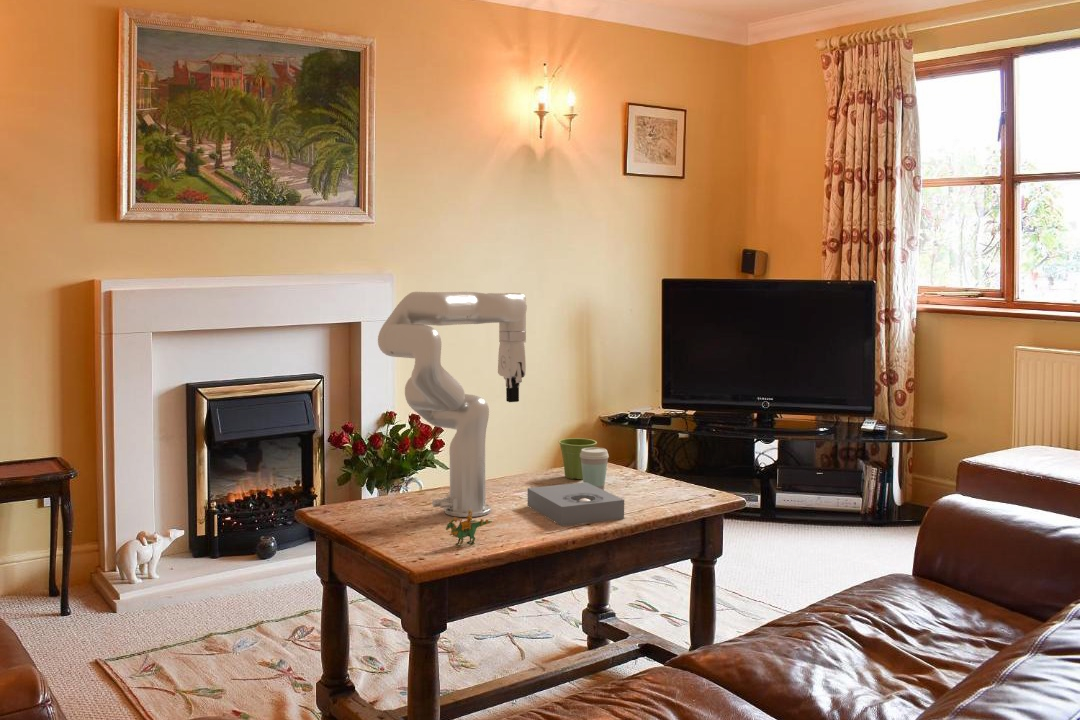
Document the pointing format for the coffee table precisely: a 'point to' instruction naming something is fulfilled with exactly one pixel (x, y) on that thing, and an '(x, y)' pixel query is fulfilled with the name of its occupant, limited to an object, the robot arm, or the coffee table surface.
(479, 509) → the robot arm
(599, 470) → the coffee cup
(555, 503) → the grey flat block
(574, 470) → the plant pot
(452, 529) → the figurine
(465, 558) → the coffee table surface
